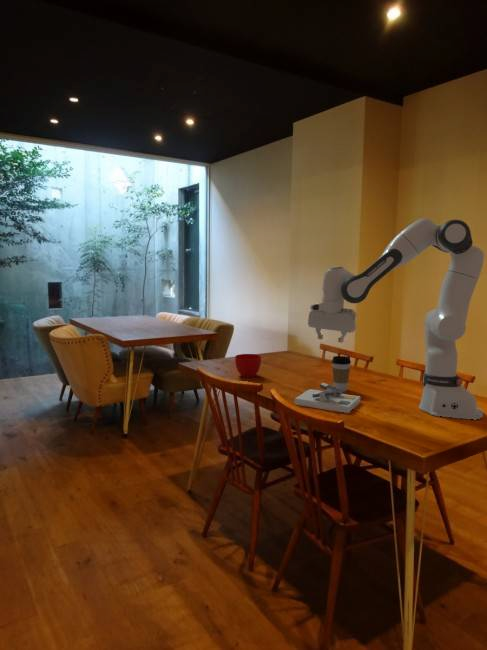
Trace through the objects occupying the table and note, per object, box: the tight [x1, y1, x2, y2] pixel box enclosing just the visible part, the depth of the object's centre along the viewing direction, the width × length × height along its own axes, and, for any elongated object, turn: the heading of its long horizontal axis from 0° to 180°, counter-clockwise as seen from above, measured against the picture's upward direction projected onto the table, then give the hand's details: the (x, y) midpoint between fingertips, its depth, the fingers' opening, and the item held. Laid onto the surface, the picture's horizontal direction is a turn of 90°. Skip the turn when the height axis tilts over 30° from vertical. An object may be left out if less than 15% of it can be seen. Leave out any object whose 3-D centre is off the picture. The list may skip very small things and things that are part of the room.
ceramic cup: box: [234, 353, 262, 378], centre depth 232 cm, size 13×17×10 cm
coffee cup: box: [331, 355, 352, 392], centre depth 205 cm, size 8×8×15 cm
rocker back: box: [319, 382, 344, 396], centre depth 188 cm, size 9×4×1 cm, turn 61°
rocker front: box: [312, 390, 337, 398], centre depth 181 cm, size 9×4×1 cm, turn 60°
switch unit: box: [294, 385, 361, 414], centre depth 185 cm, size 22×16×6 cm
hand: (330, 340), depth 188 cm, fingers open, 8 cm apart
